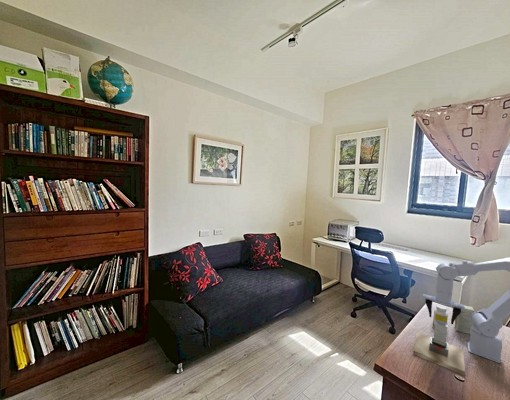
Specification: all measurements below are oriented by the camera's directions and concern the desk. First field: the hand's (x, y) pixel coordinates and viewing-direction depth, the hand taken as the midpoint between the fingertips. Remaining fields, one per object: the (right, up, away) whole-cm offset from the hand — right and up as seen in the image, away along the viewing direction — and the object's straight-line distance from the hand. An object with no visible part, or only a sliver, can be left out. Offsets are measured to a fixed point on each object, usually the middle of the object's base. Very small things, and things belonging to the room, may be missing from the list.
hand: (440, 319), depth 105 cm
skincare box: (+18, -10, +9) cm, 23 cm away
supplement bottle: (+9, -10, +12) cm, 18 cm away
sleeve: (-7, -9, -8) cm, 14 cm away
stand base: (-7, -10, -8) cm, 15 cm away
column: (-7, -5, -8) cm, 12 cm away
